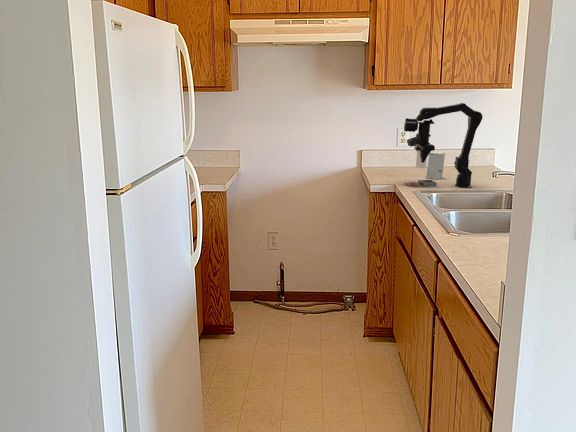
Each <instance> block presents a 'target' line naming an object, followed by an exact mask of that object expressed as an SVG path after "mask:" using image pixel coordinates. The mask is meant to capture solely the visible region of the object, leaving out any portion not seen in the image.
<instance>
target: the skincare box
mask: <svg viewBox="0 0 576 432" xmlns="http://www.w3.org/2000/svg"><path fill="white" fill-rule="evenodd" d="M445 157H446V153H445V152H439V151H431V152H430V153H429V155H428V158H427V160H428V161H427V166H426V176H425V177H426V179H428V180H442V179H443V173H444V165H445Z"/></svg>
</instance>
